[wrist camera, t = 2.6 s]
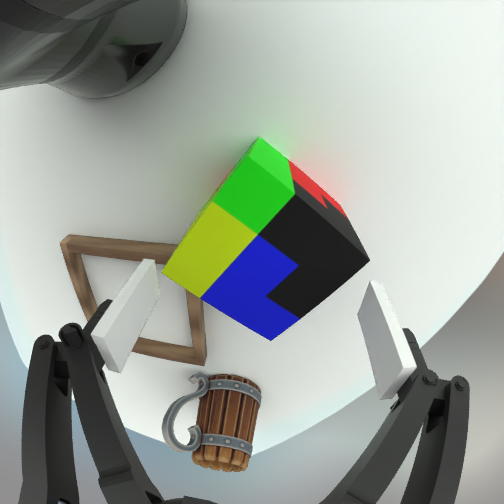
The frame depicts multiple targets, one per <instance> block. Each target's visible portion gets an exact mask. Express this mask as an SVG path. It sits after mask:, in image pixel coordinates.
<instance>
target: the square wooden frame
mask: <svg viewBox="0 0 504 504" xmlns="http://www.w3.org/2000/svg"><path fill="white" fill-rule="evenodd" d="M60 246H61V250H62V253H63V256H64V259H65V263H66V266H67V269H68V272H69V275H70V278H71V281H72V283H73V286H74V289H75V292H76V294H77V297H78V300H79V302H80V305H81V307H82V310H83V312H84V314H85V317H86V319H87V321H89V320H90V318H91V317H92V316H93V314H94V313H95V312H96V310H97V308H98V307H97V305H96V302H95V299H94V296H93V294H92V291H91V288H90V285H89V282H88V278H87V275H86V272H85V269H84V265H83V262H82V259H81V255H80V254H87V255H94V256H102V257H109V258H117V259H125V260H133V261H141V262H142V261H143V259H151V260H155V263H157V264H165V265H166V264H167V262H168V261H169V259H170V257H171V256H172V254H173V253H174V251H175V249H176V248H177V246H178V245H174V244H163V243H153V242H142V241H132V240H121V239H111V238H100V237H90V236H79V235H68V236H67V237H66V238H64V239H63V240H62V241H61V242H60ZM186 295H187V304H188V312H189V320H190V327H191V335H192V342H193V348H192V347H186V346H180V345H174V344H169V343H164V342H159V341H154V340H149V339H144V338H140V337H138V339H137V341H136V343H135V345H134V347H133V349H132V352H136V353H140V354H144V355H149V356H153V357H158V358H162V359H167V360H172V361H177V362H183V363H188V364H194V365H200V366H204V365H205V361H206V357H207V348H206V338H205V326H204V314H203V301H202V299H200V298H199V297H197V296H196V295H194V294H193V293H191V292H190V291H188V290H187V289H186Z"/></svg>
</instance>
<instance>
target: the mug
mask: <svg viewBox="0 0 504 504" xmlns="http://www.w3.org/2000/svg"><path fill="white" fill-rule="evenodd" d="M189 381H190V382H192V383H193V384H194V383H196V382H198V384H199V388H198V390H197V391H196V392H194V393H191V394H189V395H186V396H183V397H181V398H179V399H177V400H176V401H175V402H173V403H172V404H171V406H170V407H169V408H168V410H167V412H166V414H165V416H164V419H163V422H162V434H163V437H164V440H165V442H166V443H167V445H168V446H169V447H170V448H172V449H173V450H176V451H178V452H192V460H193V462H194V463H195V464H197V465H200V466H202V467H204V468H209V467H210V468H211V469H213V470H217V471H219V470H220V469H221V468H222V470H223V471H225V472H231V471H232V470H233V471H234V472H240V471H245V470H246V468H247V467H248V462H249V458H250V457H251V453H252V448H253V446H252V441H253V436H254V430H255V425H256V420H257V414H258V410H259V408H260V403H261V391H260V389H259V387H258V386H257V385H256V384H254V383H253V382H252V381H250V380H248V379H246V378H243V377H240V376H235V375H225V374H222V375H215V376H212V377H209V378H207V377H206V376H205V375H204V374H202V373H197V374H195V375H193V376H191V377H190V378H189ZM196 398H199V400H200V401H199V408H198V414H197V421H196V425H195V426H191V427H190V428H188V430H189V432H190V436H191V438H190V441H189V443H188V444H187V445H183V444H181V443H180V442H178V441H177V439H176V437H175V435H174V431H173V425H174V420H175V418H176V416H177V414H178V412H179V410H180V408H181V407H182V406H183V405H184V404H186V403H187V402H189V401H191V400H193V399H196Z"/></svg>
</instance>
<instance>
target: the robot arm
mask: <svg viewBox="0 0 504 504" xmlns="http://www.w3.org/2000/svg"><path fill="white" fill-rule="evenodd" d="M186 17H187V3H186V0H0V90H2V89H8V88H13V87H20V86H26V85H33V84H42V83H47V84H49V85H52V86H54V87H56V88H59V89H61V90H63V91H66V92H68V93H70V94H73V95H75V96H78V97H83V98H100V97H111V96H116V95H119V94H122V93H125V92H127V91H129V90H131V89H133V88H135V87H137V86H138V85H140V84H141V83H143V82H144V81H146V80H147V79H148V78H150V77H151V76H152V75H153V74H154V73H155V72H156V71H157V70H158V69H159V68H160V67H161V66H162V65H163V64H164V63H165V62H166V60H167V59H168V58H169V56H170V55H171V54H172V52H173V51H174V49H175V47H176V46H177V44H178V42H179V40H180V38H181V35H182V33H183V30H184V27H185V23H186ZM159 297H160V289H159V283H158V277H157V271H156V264H155V260H151V259H143V261H142V262H141V263H140V264H139V266H138V267H137V268H136V270H135V271H134V272H133V274H132V275H131V277H130V278H129V279H128V281H127V282H126V283H125V285H124V286H123V287H122V289H121V290H120V292H119V293H118V294H117V296H116V297H115V299H114V300H109V299H107V300H106V301H104V302H103V303H102V304H100V306H99V307H98V308H97V310H96V312H95V313H94V314H93V316H92V317H91V318H90V320H89V321H88V323H87V324H86V326H85V327H84V329H83V330H82V328H81V326H80V325H79V324H77V323H68V324H66V325H64V326H63V327H62V328H61V329H60V331H59V338H60V339H61V341H62V342H55V341H54V340H53V338H52V336H50V335H42V336H40V337H38V338H37V339H36V341H35V343H34V346H33V350H32V355H31V360H30V365H29V371H28V377H27V384H26V390H25V400H24V408H23V421H22V475H23V483H22V488H21V493H20V498H19V503H18V504H79V493H78V487H77V480H76V472H75V465H74V455H73V442H72V419H71V396H72V390H73V394H74V398H75V403H76V406H77V410H78V414H79V417H80V421H81V424H82V428H83V431H84V434H85V437H86V440H87V443H88V446H89V449H90V452H91V454H92V457H93V459H94V462H95V465H96V467H97V470H98V472H99V476H100V477H99V479H98V481H99V485H100V488H101V490H102V492H103V494H104V497H105V499H106V501H107V503H108V504H217V503H214V502H211V501H208V500H203V499H198V498H192V497H188V496H184V498H176V499H170V500H166V501H165V500H164V499H163V497H162V496H161V494H160V493H159V491H158V490H157V488H156V487H155V486H154V484H153V483H152V482H151V480H150V479H149V477H148V475H147V474H146V472H145V470H144V468H143V466H142V464H141V462H140V460H139V458H138V456H137V454H136V452H135V450H134V448H133V446H132V444H131V442H130V440H129V437H128V435H127V433H126V431H125V428H124V426H123V423H122V421H121V419H120V416H119V414H118V411H117V409H116V406H115V403H114V401H113V398H112V395H111V392H110V389H109V386H108V384H107V381H106V377H105V374H104V371H103V370H102V367H103V366H104V364H106V366H107V368H108V370H111V371H114V372H117V373H121V371H122V369H123V367H124V365H125V363H126V361H127V359H128V357H129V355H130V353H131V351H132V349H133V347H134V345H135V343H136V341H137V339H138V337H139V335H140V333H141V331H142V329H143V327H144V325H145V323H146V321H147V319H148V317H149V315H150V314H151V312H152V310H153V308H154V306H155V304H156V302H157V300H158V299H159ZM357 315H358V318H359V321H360V325H361V328H362V332H363V335H364V339H365V343H366V346H367V350H368V354H369V358H370V362H371V366H372V370H373V374H374V378H375V382H376V387H377V391H378V396H379V399H380V400H382V399H392V398H393V397H394V395H395V394H396V393H397V394H398V397H399V399H398V400H397V401H396V402H395V403H394V404H393V405H392V406H391V408H390V409H391V411H390V413H389V414H388V416H387V418H386V419H385V421H384V423H383V424H382V426H381V427H380V429H379V430H378V432H377V434H376V435H375V436H374V438H373V439H372V441H371V442H370V444H369V445H368V447H367V448H366V449H365V451H364V452H363V454H362V455H361V456H360V458H359V459H358V460H357V462H356V463H355V464H354V465H353V467H352V468H351V469H350V471H349V472H348V473H347V474H346V476H345V477H344V478H343V479H342V480H341V482H340V483H339V484H338V485H337V486H336V487H335V489H334V490H333V491H332V492H331V493H330V494H329V495H328V496H327V497H326V498H325V499H324V500H323V501H322V502H320V503H319V504H376V502H377V501H378V500H379V498H380V497H381V495H382V494H383V492H384V491H385V490H386V488H387V487H388V485H389V484H390V482H391V481H392V479H393V478H394V476H395V474H396V473H397V471H398V469H399V468H400V466H401V464H402V463H403V461H404V459H405V458H406V456H407V454H408V452H409V450H410V448H411V447H412V445H413V443H414V441H415V439H416V437H417V435H418V433H419V431H420V428H421V427H422V425H423V428H422V433H421V437H420V441H419V446H418V450H417V454H416V457H415V461H414V465H413V468H412V472H411V475H410V478H409V481H408V484H407V487H406V490H405V492H404V495H403V498H402V501H401V503H400V504H454V502H455V498H456V494H457V490H458V486H459V482H460V478H461V473H462V467H463V462H464V455H465V448H466V440H467V432H468V419H469V391H470V390H469V383H468V382H467V380H466V379H465V378H464V377H462V376H458V375H457V376H455V377H453V378H452V380H451V381H447V380H441V379H439V378H438V376H437V375H436V373H435V372H433V371H432V370H429V369H428V368H427V365H426V363H425V360H424V358H423V355H422V353H421V351H420V349H419V346H418V343H417V341H416V338H415V336H414V334H413V333H412V332H411V331H410V330H409V329H408V328H401V325H400V323H399V321H398V318H397V316H396V314H395V311H394V309H393V307H392V305H391V302H390V300H389V298H388V296H387V294H386V292H385V289H384V287H383V285H382V283H381V282H380V281H370V282H369V285H368V287H367V290H366V293H365V296H364V298H363V301H362V304H361V306H360V309H359V312H358V314H357ZM423 422H424V423H423Z"/></svg>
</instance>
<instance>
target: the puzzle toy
mask: <svg viewBox="0 0 504 504" xmlns="http://www.w3.org/2000/svg"><path fill="white" fill-rule="evenodd" d="M369 261H370V259H369V257H368V255H367V253H366V251H365V249H364V248H363V246H362V244H361V242H360V240H359V238H358V236H357V234H356V232H355V231H354V229H353V227H352V225H351V223H350V221H349V220H348V218H347V216H346V214H345V213H344V211H343V209H342V207H341V206H340V205H339V204H338V203H337V202H336V201H335V200H334V199H333V198H332V197H331V196H330V195H328V194H327V193H326V192H325V191H324V190H323V189H322V188H321V187H320V186H318V185H317V184H316V183H315V182H314V181H313V180H312V179H310V178H309V177H308V176H307V175H306V174H305V173H303V172H302V171H301V170H300V169H299V168H297V167H296V166H295V165H294V164H293V163H291V162H290V161H289V160H288V159H287V158H285V157H284V156H283V155H282V154H280V153H279V152H278V151H277V150H275V149H274V148H273V147H272V146H270V145H269V144H268V143H267V142H265V141H264V140H263V139H261V138H260V137H259V138H258V139H257V140H256V141H255V142H254V144H253V145H252V146H251V147H250V148H249V150H248V151H247V152H246V153H245V155H244V156H243V157H242V158H241V160H240V161H239V162H238V163H237V165H236V166H235V167H234V168H233V170H232V171H231V172H230V173H229V175H228V176H227V177H226V178H225V180H224V181H223V182H222V184H221V185H220V186H219V188H218V189H217V190H216V192H215V193H214V194H213V195H212V197H211V198H210V199H209V201H208V202H207V203H206V205H205V206H204V208H203V209H202V210H201V212H200V213H199V214H198V216H197V217H196V219H195V220H194V222H193V223H192V225H191V226H190V228H189V229H188V231H187V232H186V234H185V235H184V237H183V238H182V240H181V242H180V243H179V245H178V246H177V248H176V249H175V251H174V253H173V254H172V256H171V257H170V259H169V261H168V262H167V264H166V265H165V267H164V269H163V270H162V272H161V273H163V274H164V275H166V276H167V277H169V278H170V279H172V280H173V281H174V282H176V283H177V284H179V285H180V286H182V287H183V288H185V289H187V290H188V291H190V292H191V293H193V294H194V295H196V296H197V297H199V298H200V299H202V300H204V301H205V302H207V303H208V304H210V305H211V306H213V307H215V308H216V309H218V310H219V311H221V312H223V313H224V314H226V315H228V316H229V317H231V318H232V319H234V320H236V321H237V322H239V323H241V324H242V325H244V326H246V327H248V328H249V329H251V330H253V331H254V332H256V333H258V334H259V335H261V336H263V337H265V338H266V339H268V340H270V341H272V340H273V339H274V338H276V337H277V336H278V335H280V334H281V333H282V332H284V331H285V330H286V329H288V328H289V327H290V326H292V325H293V324H294V323H296V322H297V321H298V320H300V319H301V318H302V317H303V316H305V315H306V314H307V313H309V312H310V311H311V310H312V309H314V308H315V307H316V306H317V305H319V304H320V303H321V302H322V301H324V300H325V299H326V298H327V297H328V296H330V295H331V294H332V293H333V292H334V291H336V290H337V289H338V288H339V287H340V286H342V285H343V284H344V283H345V282H346V281H347V280H349V279H350V278H351V277H352V276H353V275H354V274H356V273H357V272H358V271H359V270H360V269H361V268H362V267H364V266H365V265H366V264H367V263H368V262H369Z"/></svg>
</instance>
